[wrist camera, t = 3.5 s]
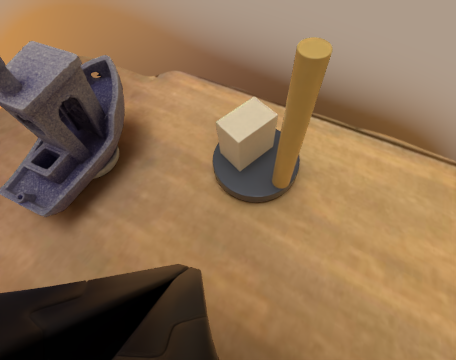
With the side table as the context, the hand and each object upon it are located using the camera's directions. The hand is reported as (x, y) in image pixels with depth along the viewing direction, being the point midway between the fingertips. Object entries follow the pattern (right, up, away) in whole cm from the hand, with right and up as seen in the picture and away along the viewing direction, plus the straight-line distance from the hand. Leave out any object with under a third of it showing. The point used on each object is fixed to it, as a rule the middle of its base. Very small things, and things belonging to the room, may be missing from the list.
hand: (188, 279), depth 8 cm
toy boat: (-13, +6, +19) cm, 23 cm away
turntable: (+4, +5, +17) cm, 18 cm away
